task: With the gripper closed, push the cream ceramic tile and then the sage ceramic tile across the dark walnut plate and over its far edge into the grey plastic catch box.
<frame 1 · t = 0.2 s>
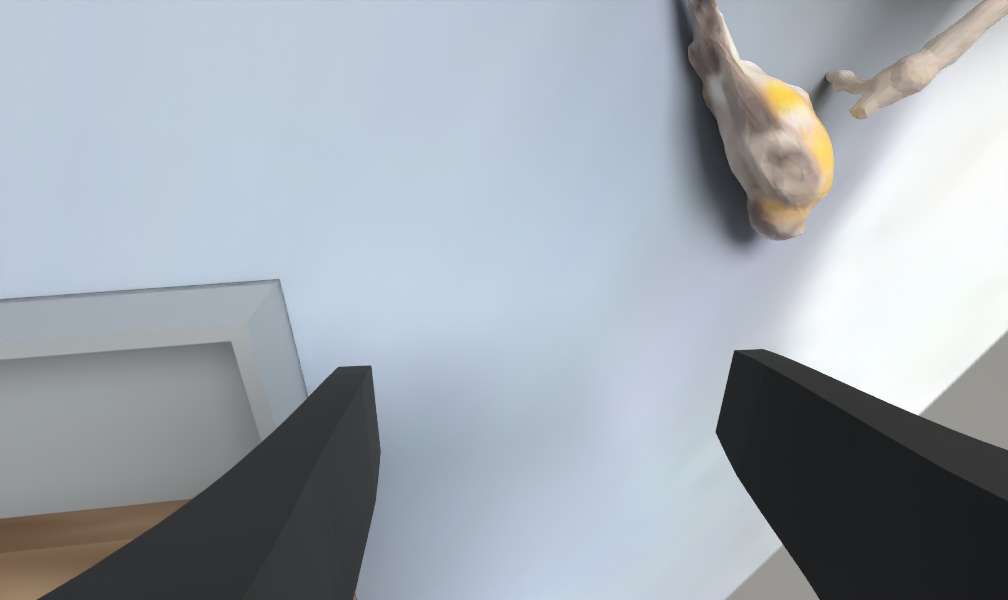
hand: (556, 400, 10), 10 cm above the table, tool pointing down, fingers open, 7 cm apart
catch box: (72, 409, 20), on the table
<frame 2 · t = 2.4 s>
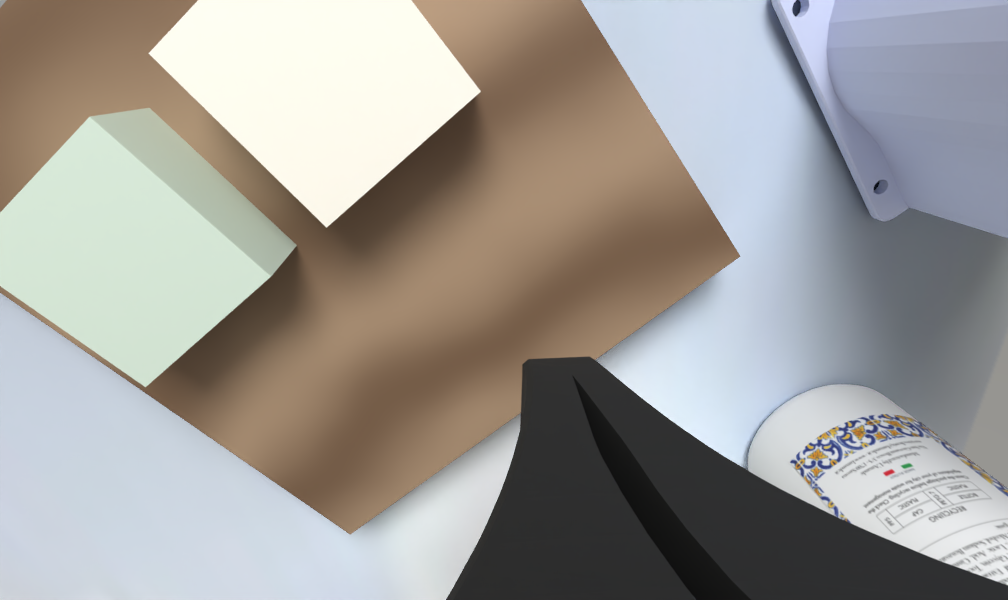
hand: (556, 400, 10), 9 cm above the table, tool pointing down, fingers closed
bath foam: (812, 438, 24), on the table
walnut plate: (355, 209, 17), on the table
cream tile: (342, 71, 14), point 2 cm above the table, touching walnut plate
sage tile: (170, 236, 15), point 2 cm above the table, touching walnut plate
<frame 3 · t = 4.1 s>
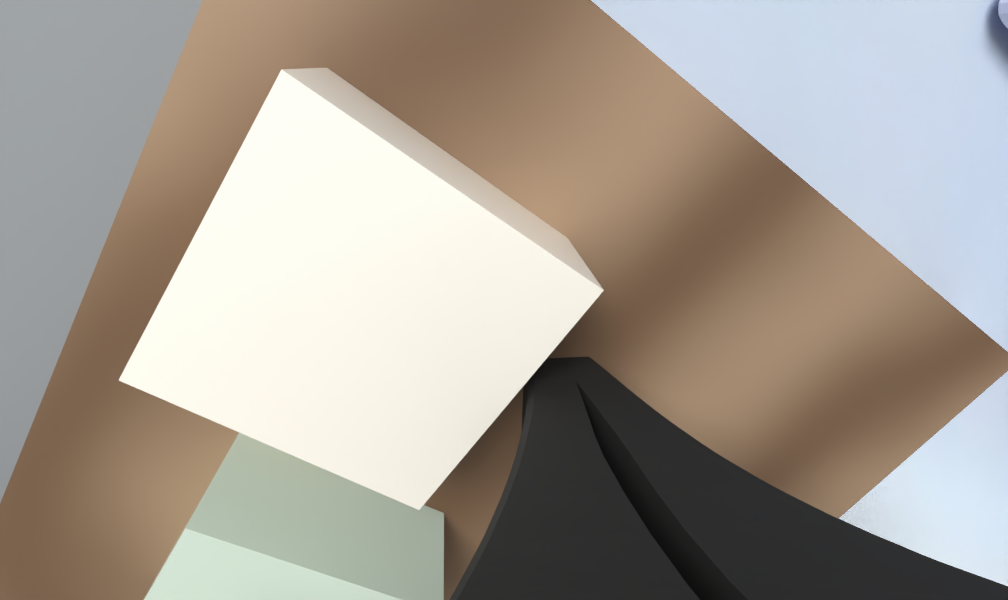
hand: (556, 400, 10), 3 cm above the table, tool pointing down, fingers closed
walnut plate: (489, 424, 14), on the table
cream tile: (383, 271, 10), point 2 cm above the table, touching gripper
sage tile: (300, 545, 12), point 2 cm above the table, touching walnut plate
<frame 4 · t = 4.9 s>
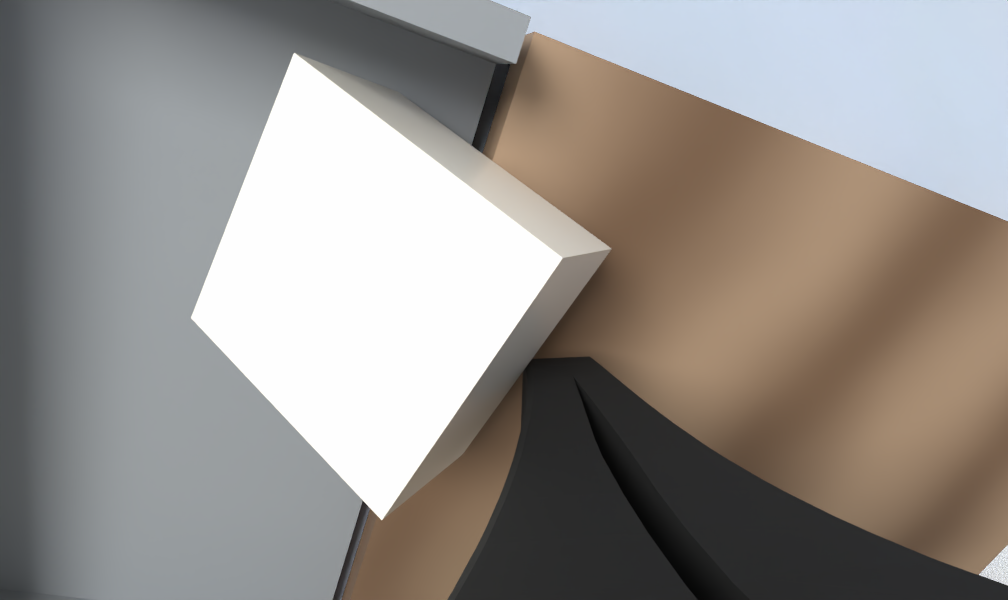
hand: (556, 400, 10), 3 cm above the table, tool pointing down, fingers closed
walnut plate: (699, 467, 15), on the table
cream tile: (431, 278, 10), point 2 cm above the table, tilted 35°, touching gripper
catch box: (189, 358, 12), on the table
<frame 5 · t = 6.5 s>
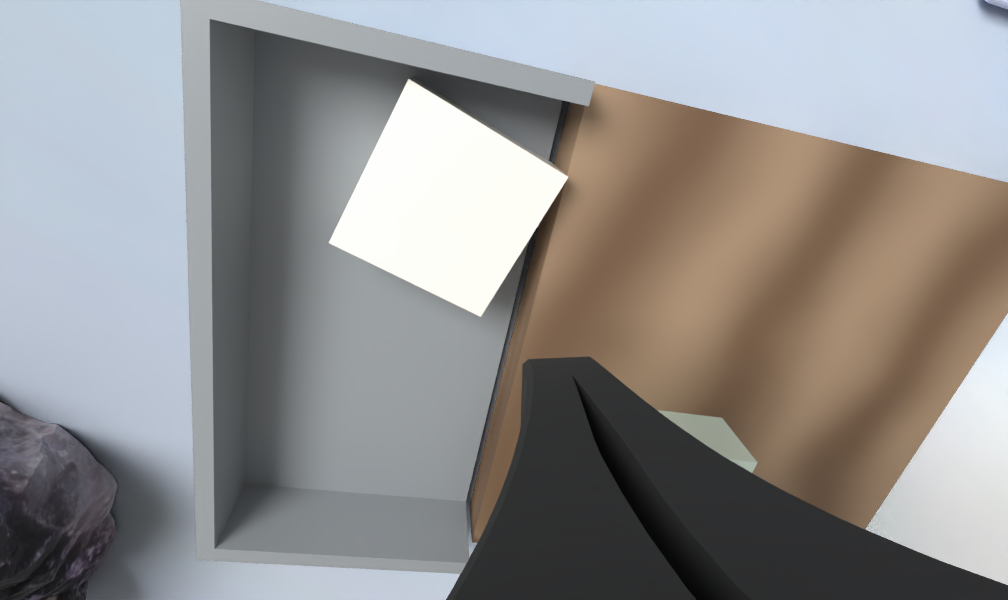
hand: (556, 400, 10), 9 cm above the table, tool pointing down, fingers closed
walnut plate: (722, 360, 21), on the table
cream tile: (447, 190, 17), resting on catch box
catch box: (376, 310, 19), on the table
sage tile: (642, 461, 21), point 2 cm above the table, touching walnut plate
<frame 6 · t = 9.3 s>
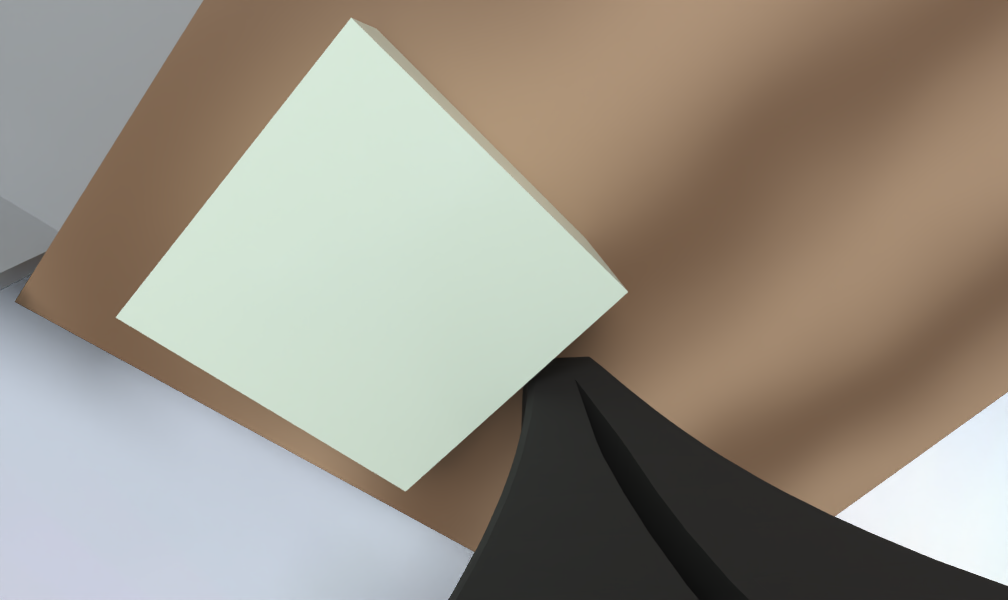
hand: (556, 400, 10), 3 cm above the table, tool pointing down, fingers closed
walnut plate: (661, 220, 12), on the table
sage tile: (397, 245, 9), point 2 cm above the table, touching gripper, walnut plate
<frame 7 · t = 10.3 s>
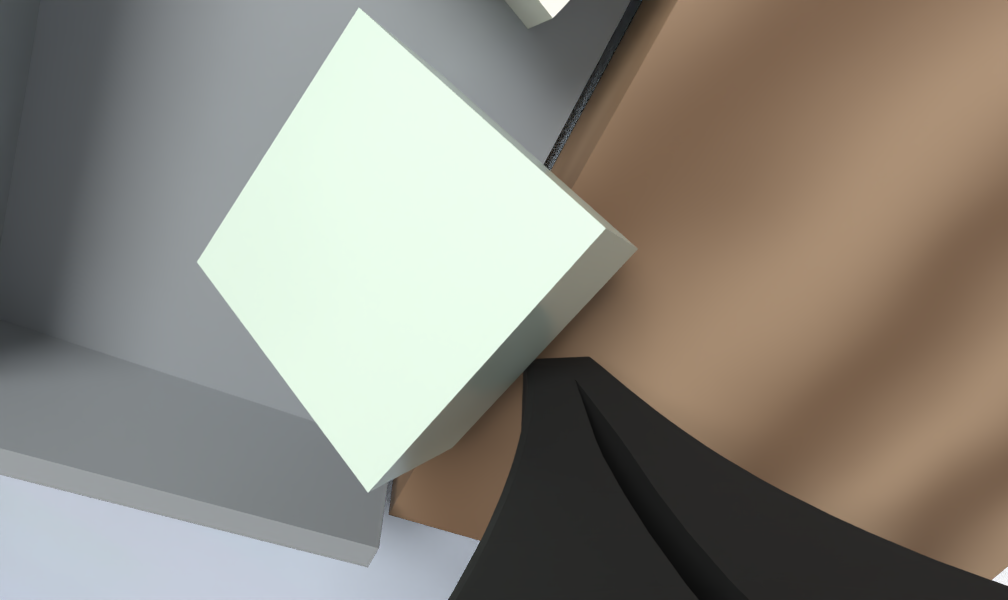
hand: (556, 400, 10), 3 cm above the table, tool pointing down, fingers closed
walnut plate: (850, 311, 14), on the table
catch box: (326, 27, 10), on the table
sage tile: (448, 261, 10), point 2 cm above the table, tilted 38°, touching gripper
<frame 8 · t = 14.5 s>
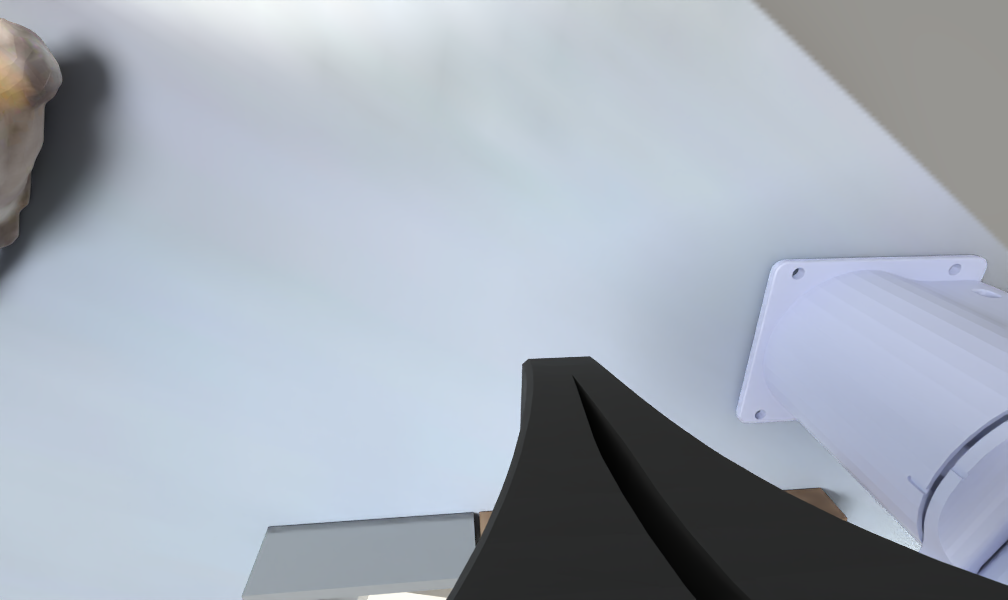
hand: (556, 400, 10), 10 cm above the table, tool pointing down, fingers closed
cream tile: (414, 581, 26), resting on catch box
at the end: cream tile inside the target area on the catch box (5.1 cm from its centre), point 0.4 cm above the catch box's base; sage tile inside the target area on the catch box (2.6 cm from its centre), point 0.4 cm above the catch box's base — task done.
